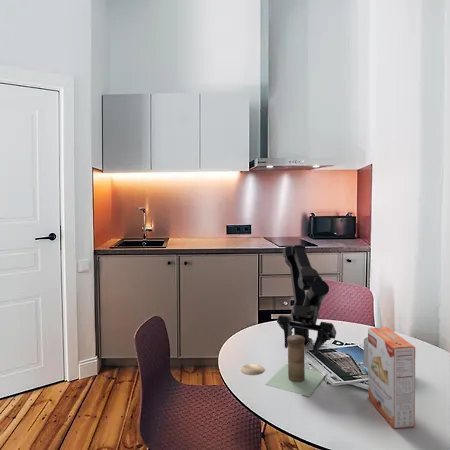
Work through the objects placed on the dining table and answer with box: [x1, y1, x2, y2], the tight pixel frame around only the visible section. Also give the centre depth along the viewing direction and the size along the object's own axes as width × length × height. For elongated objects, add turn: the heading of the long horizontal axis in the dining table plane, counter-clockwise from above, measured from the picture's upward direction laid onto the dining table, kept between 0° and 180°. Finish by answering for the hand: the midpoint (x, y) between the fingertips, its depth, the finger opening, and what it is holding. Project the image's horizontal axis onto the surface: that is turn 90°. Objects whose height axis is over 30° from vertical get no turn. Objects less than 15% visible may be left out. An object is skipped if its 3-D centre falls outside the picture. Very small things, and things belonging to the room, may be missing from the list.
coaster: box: [240, 363, 266, 376], centre depth 129 cm, size 8×8×1 cm
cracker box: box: [367, 326, 416, 430], centre depth 102 cm, size 14×6×21 cm, turn 5°
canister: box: [287, 334, 306, 382], centre depth 121 cm, size 5×5×13 cm
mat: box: [264, 363, 325, 398], centre depth 122 cm, size 16×14×1 cm
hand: (299, 350), depth 124 cm, fingers open, 9 cm apart
